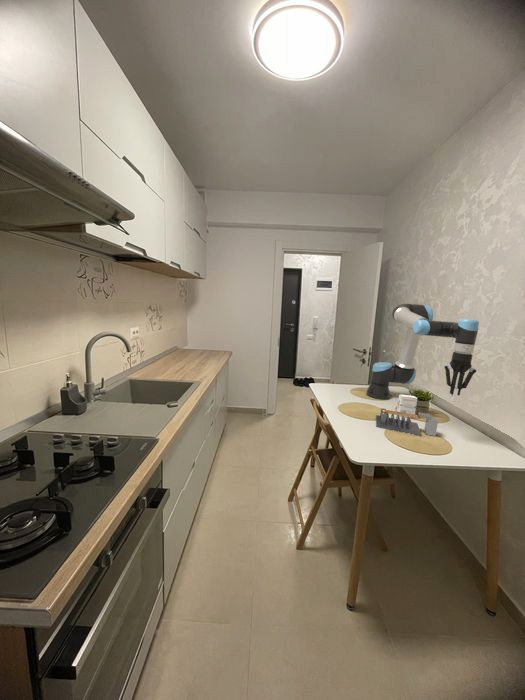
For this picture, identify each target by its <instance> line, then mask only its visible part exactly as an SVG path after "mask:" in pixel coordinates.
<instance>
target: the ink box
mask: <svg viewBox="0 0 525 700" xmlns="http://www.w3.org/2000/svg"><path fill="white" fill-rule="evenodd" d="M417 404H418V397H416V396H414V395H407V394H398V402H397V408H396V411H397V412H403V413H410V414H416V410H417ZM399 417H400V418H402V416H401V415H399ZM404 417H405V418H407V416H404ZM410 419H414V418H413V417H410Z"/></svg>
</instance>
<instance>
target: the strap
mask: <svg viewBox="0 0 525 700" xmlns="http://www.w3.org/2000/svg"><path fill="white" fill-rule="evenodd" d="M385 409H386V408H383V409H382V412H383V413H388V414H389V415H391V414H394V416H395V415H396V416H397V415H401V416H407V417H413V418H412V419H418V418H419V415H418V414H416V413H415V414H410V413H403V412H397V410H391V409H386V410H385ZM407 417H406V418H407Z"/></svg>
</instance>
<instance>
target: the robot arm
mask: <svg viewBox="0 0 525 700" xmlns="http://www.w3.org/2000/svg"><path fill="white" fill-rule="evenodd" d="M391 317H392V319H393V320H394V321H395V322H397V323H400V324H404V325H405V326H406V331H405V335H404V337H403V342H402V346H401V350H400V353H399V357H398V360H396V361H395V363H394V365H393V364H392V363H391V362H385V361H383V362H382V361H381V362H379V361H378V362H375V363H374V364H373V365H372V369H371V377H370V384H369V386H368V387H367V388H366V395H367V396H368V397H370V398H374V399H378V400H389V399H390V397H391V393H390V389H389V385H390V383H395V384H403V385H409V384H412V383H413V382H414V380H415V378H416V377H417V375H416V374H417V371H416V369H415V366H414V364H413V362H414V358H415V356H416V352H417V349H418V345H419V342H420V340H421V336H428V337H429V336H431V337H442V338H452V339H455V340H454V341H455V342H454V346H453V352H452V356H451V360H450V362H449V364H444V365H443V368H444V370H445V379H446V385H447V386H448V387H450V390H449V394H450V395H451V397H450V401H451V402H453V403H457V397H458V396H460V394H461V391H462V390H463V389H467V387H468V385H469V384H470V382H471V380H472V378H473V375H475V374H476V372H477V369H475V368H473V367H472V360H473V354H474V349H475V345H476V341H477V335H478V331H479V324H480V322H479V321H478V320H476V319H465V318H461V319H459V321H458V322H455V321H439V320H433V319H434V312H433V309H432V307H431V306H430V305H426V304H418V303H417V304H416V303H400V304H398V305H396V306H395V307H393V309H392V311H391ZM450 369H452V370H453V371H452V377H451V371H450ZM467 371H468V373H467V375H466V377H464V376H465V374H466V372H467ZM457 379H458V380H457ZM456 385H457V386H456Z"/></svg>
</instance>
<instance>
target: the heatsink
mask: <svg viewBox="0 0 525 700" xmlns="http://www.w3.org/2000/svg"><path fill="white" fill-rule="evenodd" d="M382 409H383V408H382V407H381V409H380V415H378V414H376V415H375V427H376V428H380V429H383V430H389V431H393V430H394V431H393V432H398V431H399V433H403V432H405V433H404V434H407V433H410V434H409V435H412V434H414V435H413V436H417V435H419V436H418V437H421V434H422V432H421V430H420V427H419V424H418V422H413V421H412V420H411V418H410V417H404V416H402V417H399V415H396V416H395V415H394V414H388V413H383V412H382ZM384 409H385V410H387V408H384Z"/></svg>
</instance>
